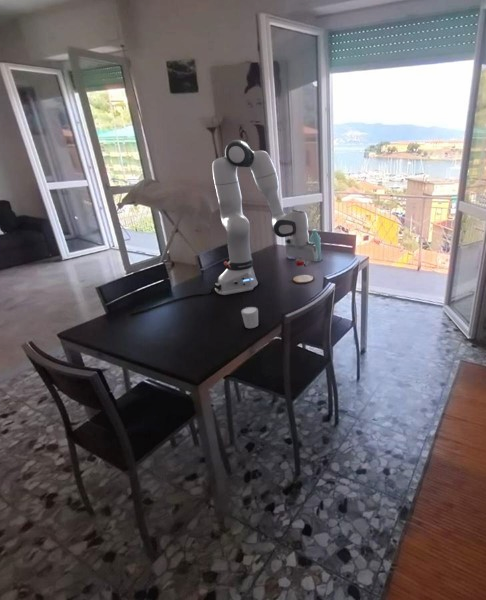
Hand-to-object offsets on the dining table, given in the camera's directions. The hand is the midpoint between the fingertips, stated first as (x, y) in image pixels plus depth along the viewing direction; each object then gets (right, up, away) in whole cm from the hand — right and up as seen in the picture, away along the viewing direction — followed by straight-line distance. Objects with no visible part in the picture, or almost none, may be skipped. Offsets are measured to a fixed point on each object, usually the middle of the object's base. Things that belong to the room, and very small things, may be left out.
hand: (302, 265), depth 192 cm
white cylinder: (-18, -29, -42) cm, 54 cm away
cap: (-1, +2, -2) cm, 3 cm away
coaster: (0, -7, +3) cm, 8 cm away
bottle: (+5, +7, +34) cm, 35 cm away
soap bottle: (-9, +9, +41) cm, 43 cm away
